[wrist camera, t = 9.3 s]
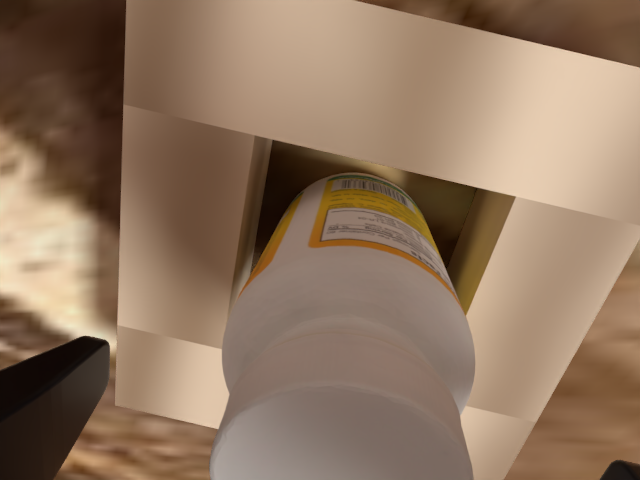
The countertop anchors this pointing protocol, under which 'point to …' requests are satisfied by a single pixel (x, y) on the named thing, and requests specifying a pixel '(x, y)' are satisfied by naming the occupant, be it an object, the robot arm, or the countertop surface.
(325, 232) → the supplement bottle
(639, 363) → the countertop surface
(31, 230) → the countertop surface
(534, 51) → the socket block
